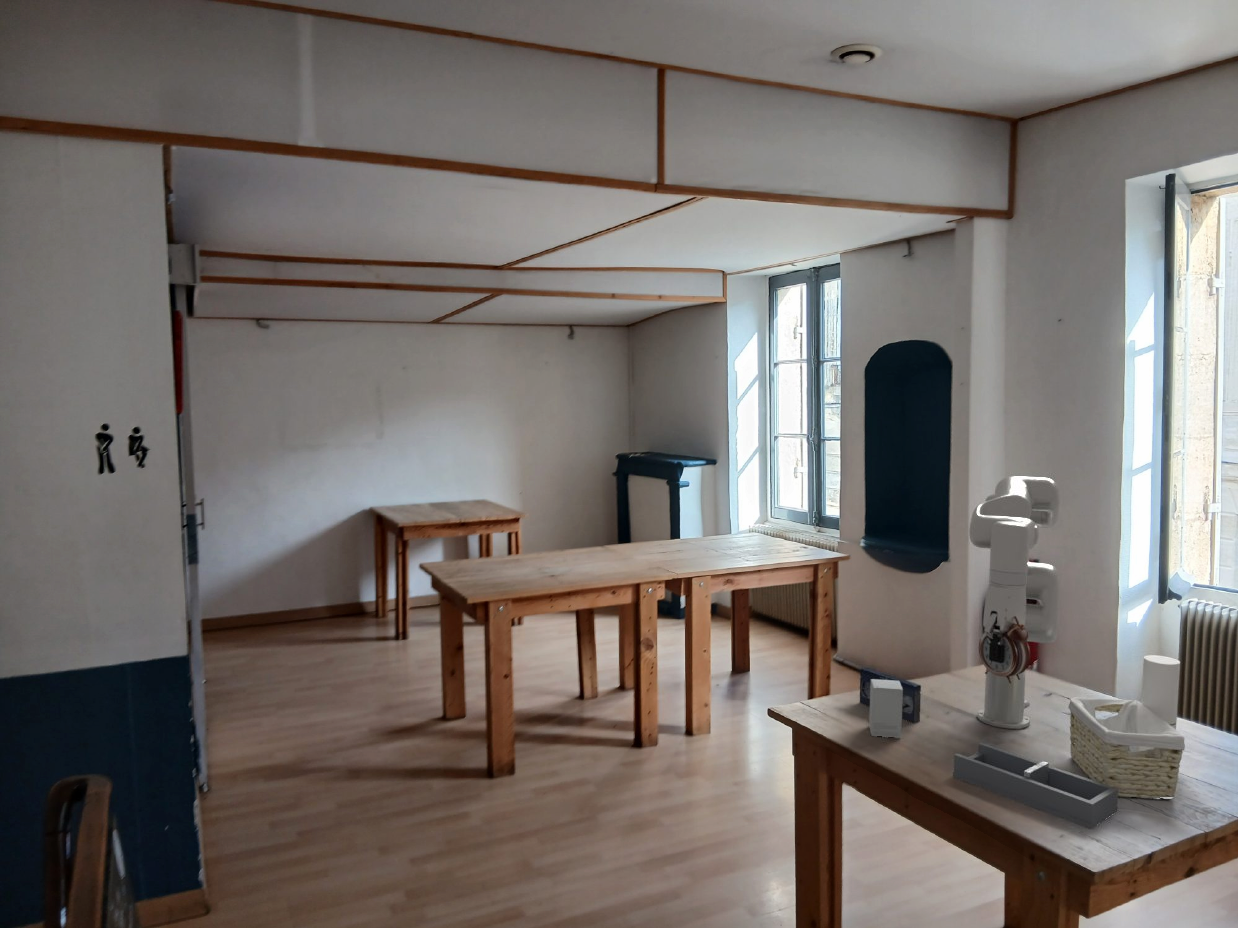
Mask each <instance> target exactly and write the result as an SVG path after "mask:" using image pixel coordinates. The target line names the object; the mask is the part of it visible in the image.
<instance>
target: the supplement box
mask: <svg viewBox="0 0 1238 928" xmlns="http://www.w3.org/2000/svg"><path fill="white" fill-rule="evenodd" d="M902 699H903V689H902V686H901V684H900V681H895V680H878V679H871V686H870V707H869V716H868V717H869V722H868V727H869V731H870V734H871V737H877V736H882V737H881V738H888V737H895V738H894V739H901V738H902V728H903V727H902V726H903V723H902V721H903V719H902Z"/></svg>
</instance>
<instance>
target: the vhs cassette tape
mask: <svg viewBox="0 0 1238 928" xmlns="http://www.w3.org/2000/svg"><path fill="white" fill-rule="evenodd" d="M859 671H860V672H859V673H860V674H859V676H860V678H859V704H861V705H863V706H866V707H869V708H870V686H871V679H878V680H895V681H900V684H901V686H902V689H903V699H902V720H903V719H904V721H906V720H907V722H909V723H911V722H912V723H911V724H916V722H917V723H918V722H920V720H921V694H922V693H921V692H922V691H921V690H922V686H921V684H918V683H915V682H912V681H909V680H906V679H903V678H900V677H898V676H893V675H890V674H888V673H884V672H881V671H879V670H876V669H875V670H874V669H871V668H868V667H862V668H860V670H859Z"/></svg>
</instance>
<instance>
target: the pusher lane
mask: <svg viewBox="0 0 1238 928" xmlns="http://www.w3.org/2000/svg"><path fill="white" fill-rule="evenodd" d="M953 757H954V758H953V771H952V777H953V778H955V779H959V780H960V781H963V782H965V783H969V784H971V785H974V786H975V787H979V788H981V789H983V790H987V791H990V792H992V793H995V794H998V795H1000V796H1003V797H1004V798H1008V799H1010V800H1013V801H1015V802H1018V803H1020V804H1024V805H1026V806H1029V807H1031V808H1035V809H1037V810H1040V811H1042V812H1044V813H1048V814H1050V815H1052V816H1055V817H1058V818H1060V819H1063V820H1065V821H1069V822H1071V823H1074V824H1076V825H1079V826H1081V827H1083V828H1087V829H1089V830H1092V829H1093V828H1095V827H1097V826H1098V825H1100V824H1101V823H1103V822H1104V821H1106V820H1107V819H1109V818H1110V817H1112V816H1113V815H1112V814H1114V813H1115V814H1117V813H1118V812H1117V811H1118V810H1119V808H1118V802H1119V801H1118V798H1119V796H1118V789H1117V788H1114V787H1111V786H1108V785H1105V784H1102V783H1099V782H1096V781H1093V780H1091V779H1090V778H1089V777H1088V778H1087V777H1084V776H1081V775H1079V774H1075V773H1072V772H1069V771H1066V770H1063V769H1061V768H1058V767H1055V766H1052V765H1049V769H1048V785H1044V784H1042V783H1039V782H1036V781H1033V780H1030V779H1028V778H1025V777H1024V771H1025V770H1027V769H1029V768H1031V767H1033V766H1035V765H1037V764H1039V763H1041V762H1039V761H1036V760H1035V759H1031V758H1028V757H1025V756H1022V755H1020V754H1016V753H1014V752H1010V751H1008V750H1004V749H1001V748H998V747H996V746H992V745H989V744H987V743H984V742H980V743H978V752H975V753H974V754H971V755H970V756H966V755H963V754H959V753H955V754H953ZM1116 812H1117V813H1116ZM1115 814H1114V815H1115ZM1111 815H1112V816H1111ZM1109 816H1110V817H1109ZM1108 817H1109V818H1108ZM1106 818H1107V819H1106ZM1105 819H1106V820H1105ZM1102 821H1103V822H1102ZM1099 823H1100V824H1099ZM1097 824H1098V825H1097Z"/></svg>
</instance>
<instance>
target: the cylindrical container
mask: <svg viewBox="0 0 1238 928" xmlns="http://www.w3.org/2000/svg"><path fill="white" fill-rule="evenodd" d="M1142 665H1143V666H1142V667H1143V668H1142V684H1141V685H1142V686H1141V699H1140V703H1142V704H1143V705H1144V706H1146V707H1147V708H1148V709H1150V710H1151V711H1152V712H1153V713H1155V714H1156V715H1157V716H1158V717H1160V718H1161V719H1162V720H1164V721H1165V722H1166V723H1168V724H1169V725H1170V726H1172V727H1173V728H1174V729H1175V730H1177V721H1178V720H1177V719H1178V705H1179V703H1178V701H1179V685H1180V670H1181V669H1180V668H1181V661H1180V660H1178V659H1176V658H1173V657H1170V656H1164V655H1154V654H1149V655H1148V654H1147V655H1144V656H1143V663H1142Z"/></svg>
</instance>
